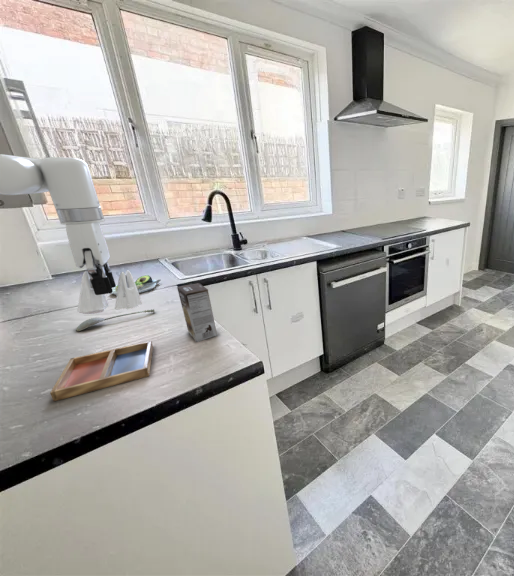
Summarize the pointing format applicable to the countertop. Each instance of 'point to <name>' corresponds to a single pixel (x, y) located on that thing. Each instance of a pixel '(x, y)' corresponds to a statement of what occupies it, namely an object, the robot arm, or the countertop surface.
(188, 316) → the coffee box
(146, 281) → the avocado toast plate
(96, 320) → the soupspoon
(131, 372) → the sorting tray
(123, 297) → the shaker set
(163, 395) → the countertop surface
